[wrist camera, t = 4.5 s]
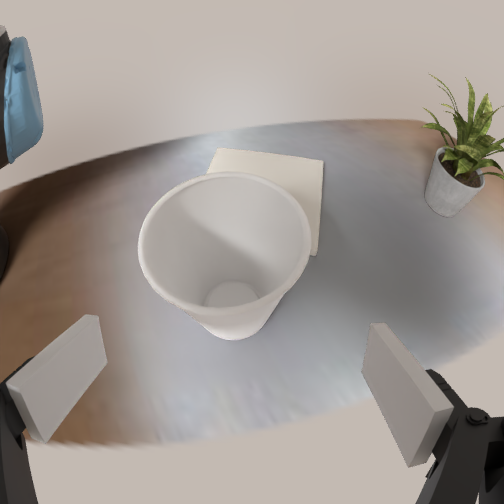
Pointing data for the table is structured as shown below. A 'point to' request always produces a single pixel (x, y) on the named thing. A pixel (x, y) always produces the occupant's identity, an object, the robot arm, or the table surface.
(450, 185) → the house plant
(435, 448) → the robot arm
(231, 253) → the cup
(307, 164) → the placemat
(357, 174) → the table surface
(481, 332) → the table surface
